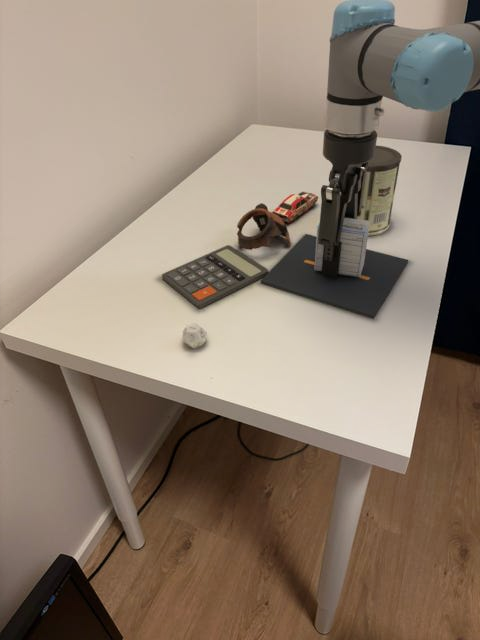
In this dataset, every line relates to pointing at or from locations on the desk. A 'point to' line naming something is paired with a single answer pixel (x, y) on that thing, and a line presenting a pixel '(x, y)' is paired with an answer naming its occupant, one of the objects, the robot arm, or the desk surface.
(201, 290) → the calculator
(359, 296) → the mat
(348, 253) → the medicine box
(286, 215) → the race car
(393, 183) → the coffee can
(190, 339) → the game die
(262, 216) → the brown looped frame
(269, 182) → the desk surface
